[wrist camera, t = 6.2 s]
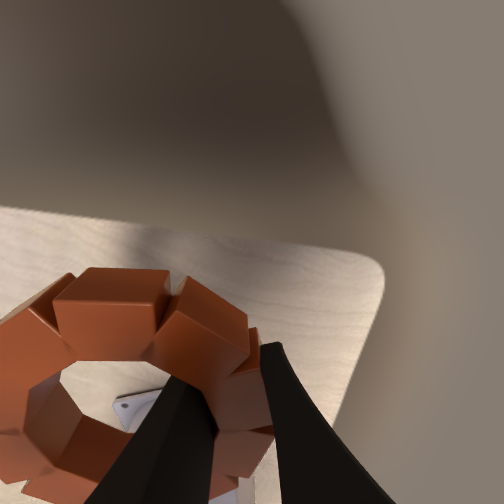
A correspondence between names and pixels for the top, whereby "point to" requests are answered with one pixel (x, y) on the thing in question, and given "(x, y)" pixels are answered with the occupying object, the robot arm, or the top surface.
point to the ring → (123, 349)
